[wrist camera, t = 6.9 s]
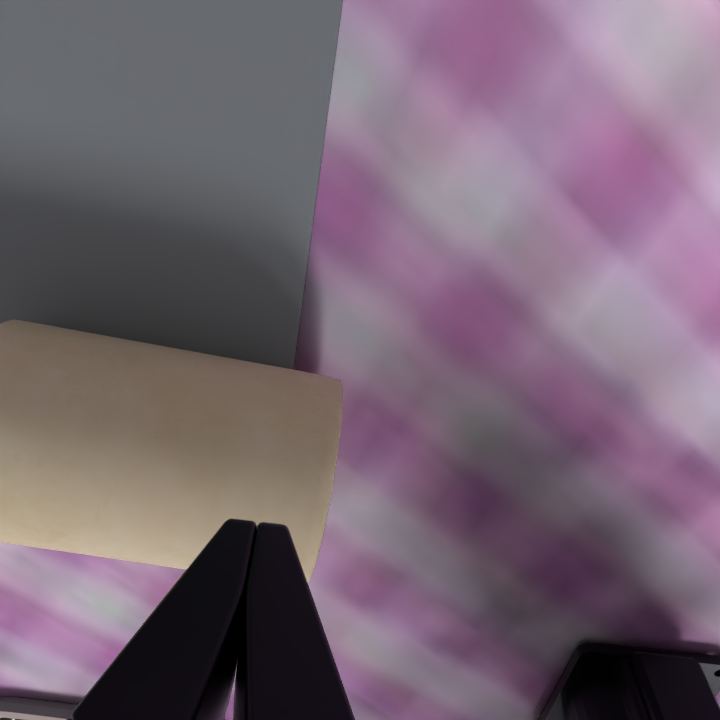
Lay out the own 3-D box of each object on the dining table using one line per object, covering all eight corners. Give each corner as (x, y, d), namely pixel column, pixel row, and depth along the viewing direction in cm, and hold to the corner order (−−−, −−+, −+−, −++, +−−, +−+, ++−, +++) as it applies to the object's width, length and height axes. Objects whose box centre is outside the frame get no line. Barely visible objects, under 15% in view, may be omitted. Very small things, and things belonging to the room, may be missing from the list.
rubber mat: (273, 514, 24) (271, 531, 23) (-146, 464, 23) (-162, 480, 22) (371, -218, 13) (372, -226, 13) (-401, -382, 12) (-447, -402, 11)
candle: (299, 610, 19) (-78, 556, 18) (322, 435, 22) (3, 380, 21) (328, 548, 14) (-174, 471, 13) (353, 338, 18) (-52, 262, 16)
